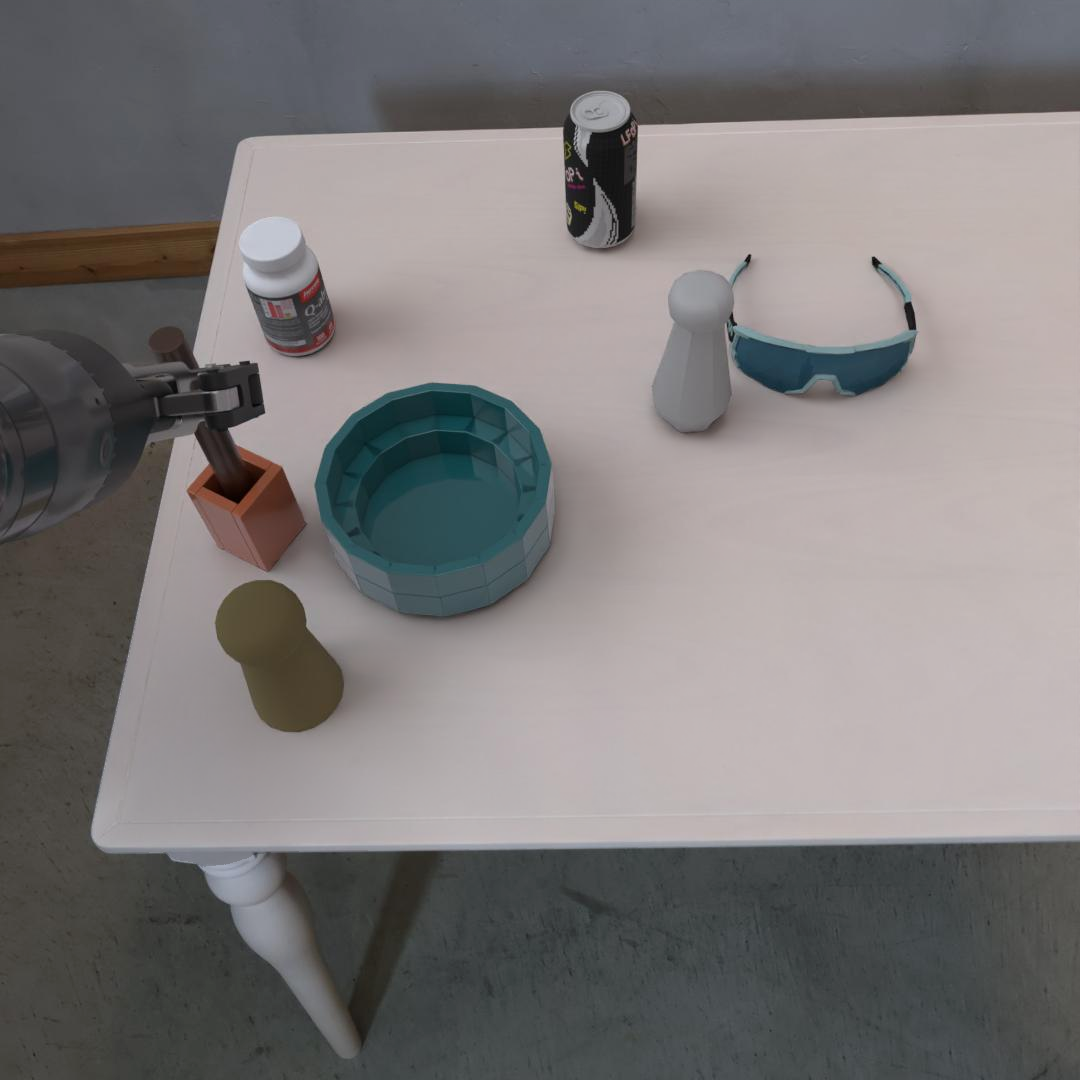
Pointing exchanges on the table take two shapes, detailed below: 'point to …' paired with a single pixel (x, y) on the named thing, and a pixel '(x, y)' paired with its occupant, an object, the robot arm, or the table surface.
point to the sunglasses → (822, 353)
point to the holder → (250, 512)
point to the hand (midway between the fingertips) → (146, 393)
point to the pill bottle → (286, 287)
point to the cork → (279, 656)
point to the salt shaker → (695, 353)
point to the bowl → (437, 498)
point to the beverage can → (600, 169)
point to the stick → (215, 445)
